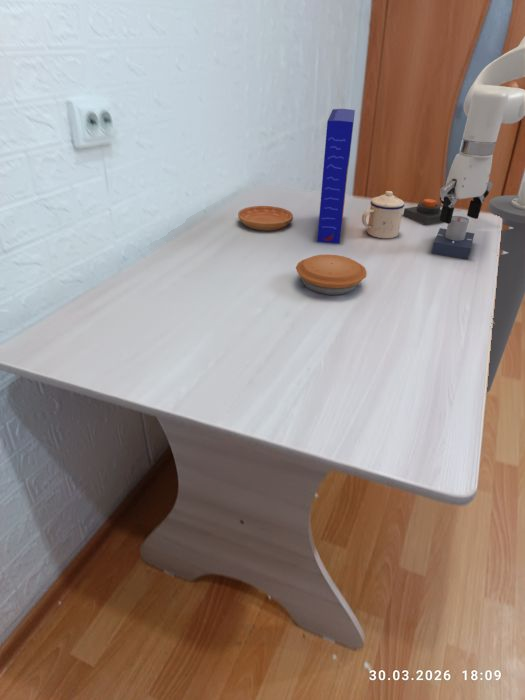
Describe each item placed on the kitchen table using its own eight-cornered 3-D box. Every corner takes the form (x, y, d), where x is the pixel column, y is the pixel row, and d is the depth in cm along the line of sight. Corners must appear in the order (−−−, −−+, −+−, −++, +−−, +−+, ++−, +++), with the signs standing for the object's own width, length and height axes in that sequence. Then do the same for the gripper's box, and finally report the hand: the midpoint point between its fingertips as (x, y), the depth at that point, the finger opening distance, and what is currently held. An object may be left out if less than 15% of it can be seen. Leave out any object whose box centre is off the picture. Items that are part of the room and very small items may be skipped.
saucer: (295, 217, 146) (295, 207, 145) (289, 235, 133) (289, 224, 131) (243, 213, 148) (243, 203, 146) (233, 230, 135) (232, 220, 133)
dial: (446, 233, 128) (451, 213, 125) (465, 236, 126) (470, 216, 124) (444, 238, 124) (448, 218, 121) (463, 241, 123) (468, 221, 120)
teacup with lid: (386, 226, 141) (392, 185, 134) (405, 236, 134) (413, 194, 127) (351, 231, 137) (356, 189, 130) (369, 242, 130) (375, 199, 123)
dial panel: (437, 238, 133) (439, 227, 131) (471, 243, 130) (474, 232, 128) (431, 253, 124) (434, 241, 122) (467, 259, 121) (471, 247, 119)
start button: (429, 203, 148) (430, 198, 147) (437, 207, 145) (438, 201, 144) (420, 205, 147) (421, 199, 146) (428, 208, 144) (430, 202, 143)
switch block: (426, 211, 154) (429, 198, 151) (450, 220, 146) (453, 207, 144) (403, 215, 150) (405, 202, 147) (425, 225, 142) (428, 211, 140)
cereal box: (339, 243, 128) (353, 121, 112) (317, 241, 129) (327, 119, 113) (342, 218, 146) (355, 109, 130) (323, 216, 147) (332, 108, 131)
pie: (288, 294, 103) (289, 273, 100) (302, 266, 115) (303, 246, 113) (360, 304, 100) (364, 282, 97) (367, 274, 112) (370, 254, 109)
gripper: (489, 143, 119) (471, 211, 129) (438, 147, 112) (422, 219, 122) (515, 149, 114) (493, 219, 123) (463, 153, 107) (444, 228, 116)
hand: (458, 219), depth 123 cm, fingers open, 9 cm apart
